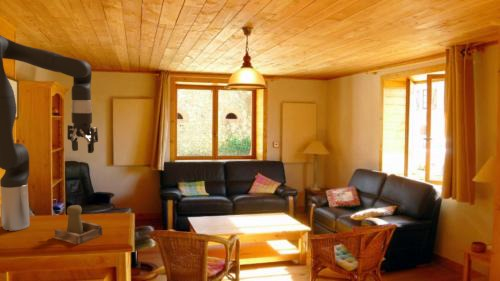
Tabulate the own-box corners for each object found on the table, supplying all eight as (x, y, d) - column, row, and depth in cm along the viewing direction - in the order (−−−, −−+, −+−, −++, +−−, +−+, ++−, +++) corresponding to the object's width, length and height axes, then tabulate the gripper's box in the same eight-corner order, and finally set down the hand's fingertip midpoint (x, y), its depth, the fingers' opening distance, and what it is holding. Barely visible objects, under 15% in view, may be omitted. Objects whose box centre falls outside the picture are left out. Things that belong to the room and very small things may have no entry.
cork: (76, 237, 151) (75, 209, 149) (62, 235, 152) (61, 207, 151) (87, 232, 156) (86, 204, 155) (74, 230, 158) (73, 202, 157)
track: (53, 237, 151) (53, 227, 151) (78, 228, 161) (77, 219, 161) (78, 244, 146) (78, 234, 145) (102, 234, 156) (102, 224, 155)
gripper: (61, 110, 160) (62, 151, 163) (87, 113, 154) (88, 155, 156) (76, 110, 167) (77, 148, 169) (102, 112, 161) (103, 152, 163)
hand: (82, 151), depth 163 cm, fingers open, 8 cm apart
